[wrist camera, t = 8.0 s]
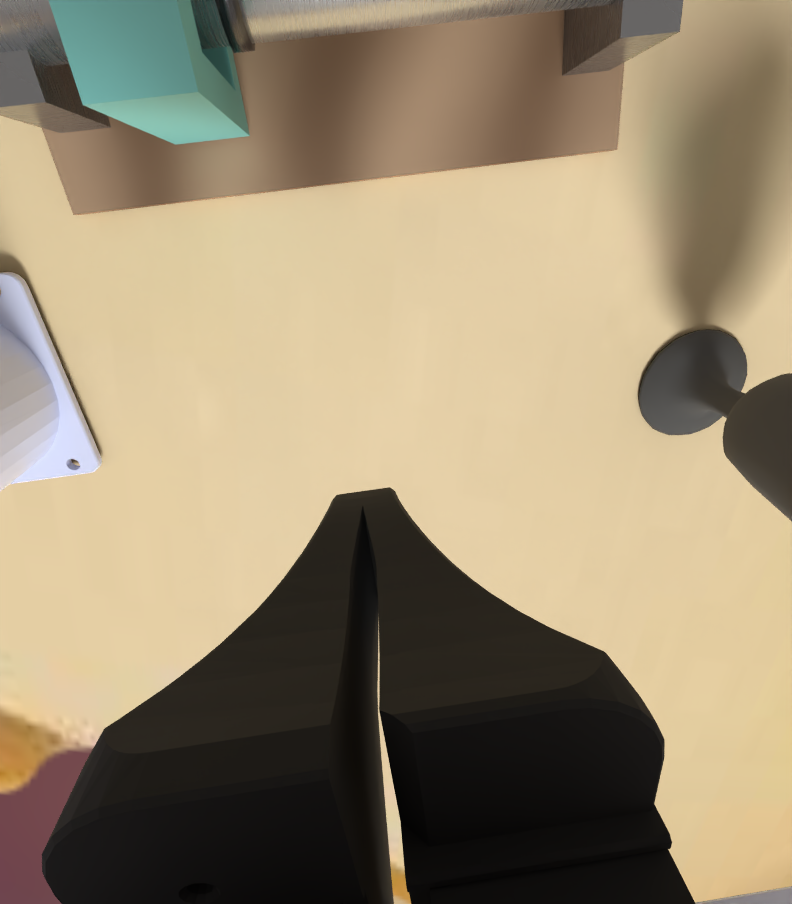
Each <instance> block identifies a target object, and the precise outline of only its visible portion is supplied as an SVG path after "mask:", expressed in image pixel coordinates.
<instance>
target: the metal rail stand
mask: <svg viewBox="0 0 792 904" xmlns="http://www.w3.org/2000/svg"><path fill="white" fill-rule="evenodd" d="M190 1H191V5H192V9H193V14H194V18H195V23H196V27H197V31H198V36H199V40H200V45H201V49H210V48H219V47H228V46H230V47H231V49H232V50H233V52H234V53H242V52H251V51H255V44H256V43H265V42H274V41H283V40H292V39H301V38H311V37H320V36H329V35H338V34H347V33H357V32H366V31H375V30H384V29H393V28H402V27H412V26H421V25H430V24H439V23H448V22H457V21H467V20H476V19H485V18H494V17H503V16H513V15H522V14H531V13H540V12H549V11H558V10H564V35H563V64H562V76H566V75H575V74H583V73H592V72H601V71H609V70H611V69H613V68H615V67H616V66H618V65H620V64H622V63H624V62H625V61H627V60H629V59H631V58H633V57H634V56H636V55H638V54H640V53H642V52H644V51H645V50H647V49H649V48H651V47H653V46H654V45H656V44H658V43H660V42H662V41H663V40H665V39H667V38H669V37H671V36H672V35H674V34H676V33H678V32H680V24H681V15H682V6H683V0H190ZM0 115H1V116H4V117H7V118H11V119H14V120H18V121H21V122H24V123H28V124H31V125H35V126H38V127H41V128H45V129H48V130H51V131H55V132H58V133H66V132H75V131H84V130H92V129H101V128H110V127H111V125H110V122H109V119H108V116H107V115H105V114H103V113H100V112H98V111H96V110H93V109H91V108H89V107H86V106H84V105H83V104H82V101H81V98H80V95H79V92H78V89H77V86H76V83H75V80H74V77H73V74H72V70H71V67H70V64H69V61H68V58H67V55H66V52H65V49H64V46H63V43H62V40H61V37H60V34H59V31H58V28H57V25H56V22H55V19H54V15H53V12H52V9H51V6H50V3H49V0H0Z"/></svg>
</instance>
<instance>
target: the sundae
mask: <svg viewBox="0 0 792 904" xmlns="http://www.w3.org/2000/svg"><path fill="white" fill-rule="evenodd" d="M746 376H747V360H746V355H745V353H744V351H743V349H742V347H741V345H740V344H739V343H738V341H737V340H736V339H735V338H733V337H732V336H730V335H729V334H727V333H724V332H722V331H719V330H698V331H695V332H692V333H689V334H686V335H684V336H682V337H680V338H678V339H675V340H674V341H673V342H672V343H670V344H669V345H668V346H666V347H665V348H664V349H663V350H662V351H661V352H660V353H659V354H658V355H657V356H656V357H655V358H654V360H653V361H652V363H651V364H650V365H649V367H648V369H647V371H646V372H645V374H644V376H643V379H642V383H641V386H640V392H639V404H640V409H641V413H642V416H643V417H644V419H645V420H646V422H647V423H648V424H649V425H650V426H651V427H652V428H653V429H655V430H657V431H659V432H662V433H665V434H668V435H685V434H692V433H695V432H698V431H700V430H703V429H705V428H707V427H709V426H711V425H712V424H713V423H715V422H716V421H718V420H719V419H720V418H721V417H722V416H724V417H726V418H727V420H726V422H725V426H724V433H723V447H724V452H725V455H726V457H727V458H728V459H729V460H730V462H731V463H732V464H733V465H734V466H735V467H736V468H737V469H738V471H739V472H740V473H741V474H742V475H743V476H744V477H745V478H746V480H747V481H748V482H749V483H750V484H751V485H752V486H753V487H754V488H755V489H756V490H757V491H759V492H760V493H761V494H762V495H763V496H764V497H765V498H766V499H768V500H769V501H770V502H771V503H772V504H773V505H774V506H775V507H776V508H778V509H779V510H780V511H781V512H782V513H783V514H784V515H785V516H786V517H788V518H789V519H790V520H791V521H792V374H783V375H780V376H777V377H775V378H772V379H770V380H767V381H765V382H763V383H761V384H759V385H758V386H756V387H754V388H752V389H751V390H749V391H748V392H747V393H746V394H745V393H742V392H741V391H742V388H743V386H744V383H745V380H746Z"/></svg>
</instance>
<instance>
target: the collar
mask: <svg viewBox="0 0 792 904" xmlns="http://www.w3.org/2000/svg"><path fill="white" fill-rule="evenodd" d="M49 3H50V6H51V9H52V12H53V15H54V19H55V22H56V25H57V28H58V31H59V34H60V37H61V40H62V43H63V46H64V49H65V52H66V55H67V58H68V61H69V64H70V67H71V70H72V74H73V77H74V80H75V83H76V86H77V89H78V92H79V95H80V98H81V101H82V104H83V105H84V106H86V107H89V108H91V109H93V110H96V111H98V112H100V113H103V114H105V115H107V116H110V117H112V118H114V119H117V120H119V121H121V122H124V123H126V124H128V125H131V126H133V127H135V128H138V129H140V130H142V131H145V132H147V133H150V134H152V135H154V136H157V137H159V138H161V139H164V140H166V141H168V142H171V143H173V144H175V145H177V144H185V143H194V142H203V141H211V140H220V139H229V138H237V137H246V136H250V134H249V129H248V124H247V119H246V114H245V110H244V105H243V100H242V95H241V90H240V85H239V80H238V76H237V71H236V66H235V61H234V56H233V51H232V49H231V47H230V46H228V47H219V48H210V49H201V45H200V40H199V36H198V31H197V27H196V23H195V18H194V14H193V9H192V5H191V1H190V0H49Z"/></svg>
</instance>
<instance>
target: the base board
mask: <svg viewBox="0 0 792 904" xmlns="http://www.w3.org/2000/svg"><path fill="white" fill-rule="evenodd" d="M563 35H564V10H558V11H549V12H540V13H531V14H522V15H513V16H503V17H494V18H485V19H476V20H467V21H457V22H448V23H439V24H430V25H421V26H412V27H402V28H393V29H384V30H375V31H366V32H357V33H347V34H338V35H329V36H320V37H311V38H301V39H292V40H283V41H274V42H265V43H256V44H255V51H251V52H242V53H234V52H233V56H234V61H235V66H236V71H237V76H238V80H239V85H240V90H241V95H242V100H243V105H244V110H245V114H246V119H247V124H248V129H249V134H250V136H246V137H237V138H229V139H220V140H211V141H203V142H194V143H185V144H177V145H175V144H173V143H171V142H168V141H166V140H164V139H161V138H159V137H157V136H154V135H152V134H150V133H147V132H145V131H142V130H140V129H138V128H135V127H133V126H131V125H128V124H126V123H124V122H121V121H119V120H117V119H114V118H112V117H110V116H108V119H109V122H110V125H111V127H110V128H101V129H92V130H84V131H75V132H66V133H58V132H55V131H51V130H48V129H45V128H42V129H43V132H44V135H45V138H46V140H47V143H48V146H49V149H50V151H51V154H52V157H53V160H54V162H55V165H56V168H57V171H58V173H59V176H60V179H61V182H62V184H63V187H64V190H65V193H66V195H67V198H68V201H69V203H70V206H71V209H72V212H73V214H74V215H82V214H90V213H98V212H107V211H115V210H123V209H132V208H140V207H148V206H157V205H165V204H173V203H181V202H190V201H198V200H206V199H215V198H223V197H231V196H240V195H248V194H256V193H265V192H273V191H281V190H289V189H298V188H306V187H314V186H323V185H331V184H339V183H348V182H356V181H364V180H373V179H381V178H389V177H398V176H406V175H414V174H422V173H431V172H439V171H447V170H456V169H464V168H472V167H481V166H489V165H497V164H506V163H514V162H522V161H530V160H539V159H547V158H555V157H564V156H572V155H580V154H589V153H597V152H605V151H613V150H617V147H618V134H619V121H620V109H621V96H622V83H623V71H624V63H622V64H620V65H618V66H616V67H615V68H613V69H611V70H609V71H601V72H592V73H583V74H575V75H566V76H562V64H563ZM232 51H233V50H232Z"/></svg>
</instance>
